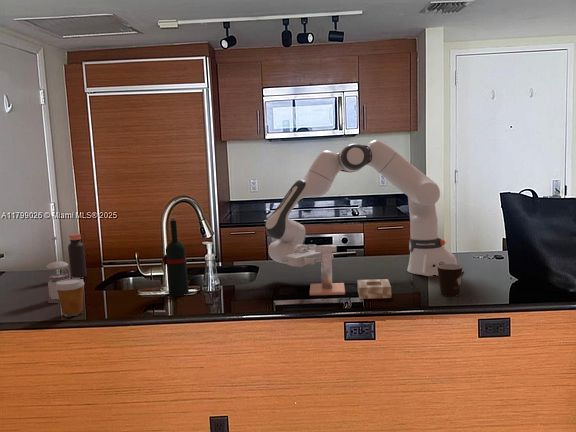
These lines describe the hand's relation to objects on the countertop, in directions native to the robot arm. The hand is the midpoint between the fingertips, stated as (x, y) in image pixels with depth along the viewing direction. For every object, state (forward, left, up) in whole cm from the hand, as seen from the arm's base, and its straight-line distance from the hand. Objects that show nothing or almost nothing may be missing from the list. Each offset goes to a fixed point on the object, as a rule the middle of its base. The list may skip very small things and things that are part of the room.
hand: (323, 259), depth 204 cm
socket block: (-18, +8, -12) cm, 23 cm away
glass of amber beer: (+88, +24, -12) cm, 92 cm away
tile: (-1, +1, -12) cm, 12 cm away
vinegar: (+112, -32, -12) cm, 117 cm away
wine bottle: (+58, 0, -12) cm, 59 cm away
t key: (-1, +1, -11) cm, 11 cm away
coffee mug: (-46, +10, -12) cm, 49 cm away
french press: (+102, +4, -12) cm, 103 cm away
